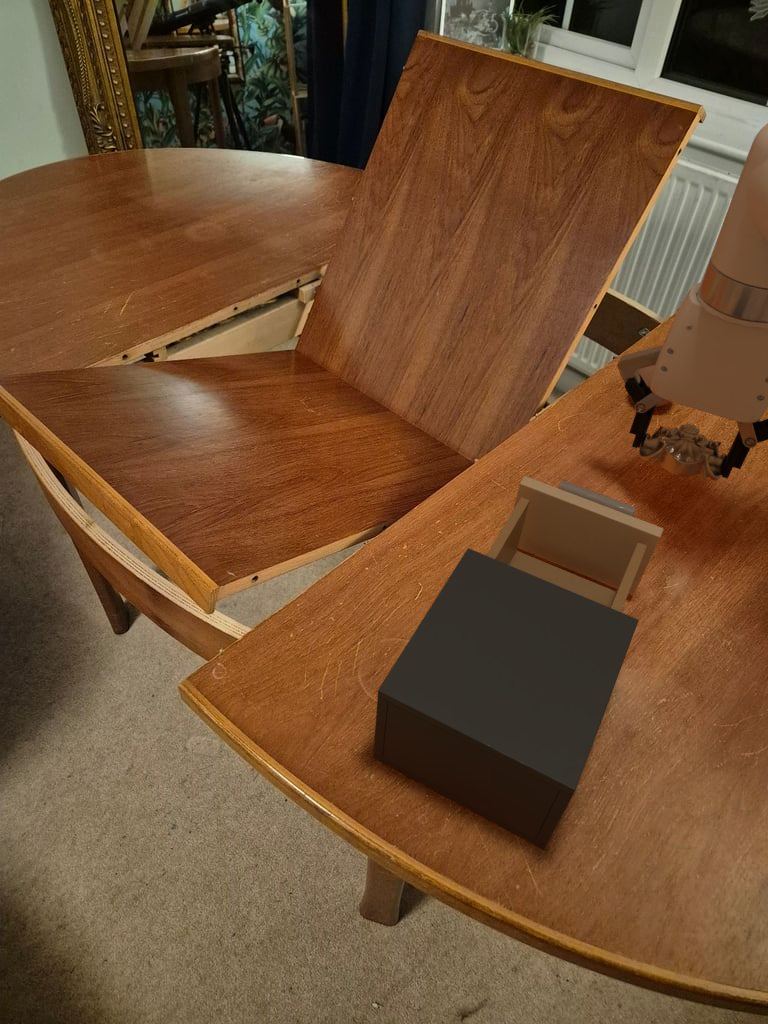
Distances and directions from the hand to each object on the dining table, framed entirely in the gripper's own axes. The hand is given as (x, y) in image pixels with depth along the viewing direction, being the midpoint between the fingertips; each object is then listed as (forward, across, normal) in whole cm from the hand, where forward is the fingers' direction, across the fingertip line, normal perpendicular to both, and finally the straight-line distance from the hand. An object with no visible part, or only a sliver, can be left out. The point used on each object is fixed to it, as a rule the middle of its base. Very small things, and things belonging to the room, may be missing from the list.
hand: (681, 453), depth 73 cm
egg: (+6, +6, -16) cm, 18 cm away
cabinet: (+6, +6, +32) cm, 33 cm away
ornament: (+1, 0, 0) cm, 1 cm away
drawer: (+5, +5, +19) cm, 20 cm away
